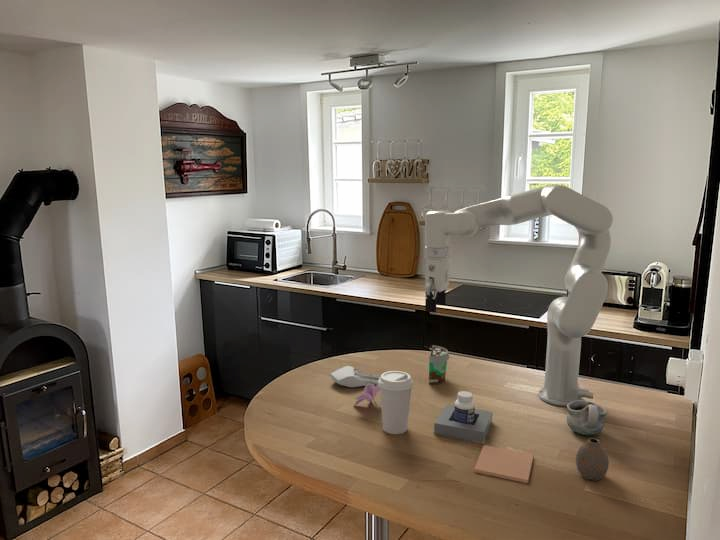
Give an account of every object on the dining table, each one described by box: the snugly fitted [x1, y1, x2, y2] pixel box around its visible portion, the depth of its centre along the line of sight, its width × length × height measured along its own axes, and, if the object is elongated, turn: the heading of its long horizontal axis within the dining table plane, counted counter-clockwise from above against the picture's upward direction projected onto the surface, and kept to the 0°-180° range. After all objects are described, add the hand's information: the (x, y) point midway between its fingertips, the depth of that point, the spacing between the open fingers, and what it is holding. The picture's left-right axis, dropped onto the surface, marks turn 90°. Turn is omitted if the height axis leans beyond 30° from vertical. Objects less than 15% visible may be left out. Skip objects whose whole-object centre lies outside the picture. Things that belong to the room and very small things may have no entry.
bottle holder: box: [433, 403, 493, 444], centre depth 148 cm, size 13×13×3 cm
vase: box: [575, 437, 610, 481], centre depth 124 cm, size 7×7×9 cm
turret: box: [330, 365, 381, 388], centre depth 179 cm, size 10×20×5 cm, turn 93°
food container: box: [428, 344, 450, 386], centre depth 181 cm, size 12×6×10 cm, turn 168°
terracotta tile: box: [473, 444, 534, 484], centre depth 130 cm, size 12×12×1 cm
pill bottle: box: [454, 390, 476, 425], centre depth 147 cm, size 5×5×10 cm
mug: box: [566, 399, 607, 436], centre depth 144 cm, size 10×12×10 cm
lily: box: [353, 383, 381, 413], centre depth 160 cm, size 11×11×9 cm
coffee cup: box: [378, 370, 415, 435], centre depth 146 cm, size 10×10×15 cm
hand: (435, 308), depth 166 cm, fingers open, 9 cm apart
